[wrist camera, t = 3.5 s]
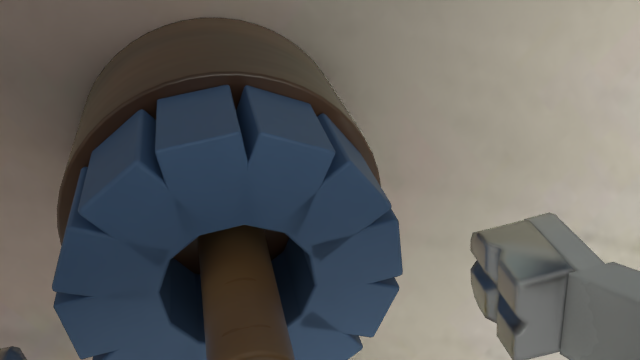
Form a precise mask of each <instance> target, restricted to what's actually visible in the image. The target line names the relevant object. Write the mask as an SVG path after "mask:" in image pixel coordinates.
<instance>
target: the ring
mask: <svg viewBox="0 0 640 360" xmlns="http://www.w3.org/2000/svg"><path fill="white" fill-rule="evenodd" d="M241 225H248V226H253V227H258V228H263V229H268V230H272V231H277V232H282V233H285V234H286V235H287V236H288V237H289V240H288V242H287V245H286V247H285V249H284V251H283V252H282V253H281V254H280V255H278V256H277V257H276V258H274V259H273V260H272V261H271V262H272V266H273V271H274V275H275V279H276V283H277V287H278V291H279V295H280V299H281V304H282V308H283V312H284V316H285V320H286V324H287V328H288V332H289V337H290V341H291V345H292V349H293V353H294V357H295V360H348V359H349V358H351V357H352V356H353V355H355V354H356V353H357V352H359V351H360V350H361V349H362V348H363V346H362V343H361V340H360V338H359V336H365V337H373V336H374V335H375V333H376V331H377V329H378V327H379V326H380V324H381V322H382V320H383V318H384V316H385V315H386V313H387V311H388V309H389V307H390V305H391V303H392V302H393V300H394V298H395V296H396V294H397V292H398V291H399V286H398V284H397V282H396V280H395V278H394V277H397V276H400V275H402V272H403V270H402V258H401V246H400V234H399V222H398V219H397V218H396V216H395V214H394V213H393V211H392V209H391V203H390V201H389V200H388V198H387V196H386V195H385V193H384V191H383V190H382V188H381V186H380V185H379V183H378V181H377V180H376V178H375V177H374V175H373V173H372V172H371V170H370V168H369V167H368V165H367V163H366V162H365V160H364V158H363V157H362V155H361V153H360V152H359V151H358V150H357V149H356V148H355V147H354V145H353V144H352V143H351V142H350V141H349V140H348V139H347V138H346V137H345V135H344V134H343V133H342V132H341V131H340V130H339V129H338V128H337V126H336V125H335V124H334V123H333V122H332V121H331V120H330V119H329V117H328V116H327V115H326V114H324V113H322V114H320V115H319V116H318V117H317V116H316V114H315V112H314V110H313V109H312V107H311V105H310V104H309V103H306V102H303V101H299V100H296V99H292V98H289V97H286V96H282V95H279V94H275V93H272V92H268V91H265V90H262V89H258V88H255V87H251V86H248V85H246V86H245V87H244V89H243V92H242V95H241V98H240V101H239V104H238V107H237V110H235V106H234V102H233V97H232V93H231V89H230V86H229V85H222V86H218V87H213V88H208V89H204V90H199V91H194V92H190V93H185V94H180V95H176V96H171V97H166V98H162V99H158V100H157V111H156V120H155V119H154V118H153V117H152V116H151V115H149V114H148V113H147V112H146V111H145V110H143V109H141V110H138V111H137V112H136V113H135V114H134V115H133V116H132V117H130V118H129V119H128V120H127V121H126V122H125V123H124V124H123V125H121V126H120V127H119V128H118V129H117V130H116V131H115V132H114V133H112V134H111V135H110V136H109V137H108V138H107V139H106V140H105V141H103V142H102V143H101V144H100V145H99V146H98V147H97V148H96V149H94V150H93V151H92V153H91V157H90V161H89V165H88V167H83V168H82V169H81V171H80V175H79V179H78V183H77V187H76V191H75V195H74V199H73V202H72V206H71V210H70V214H69V218H68V222H67V226H66V230H65V234H64V238H63V242H62V246H61V251H60V255H59V259H58V263H57V267H56V271H55V276H54V280H53V284H52V289H53V291H55V292H57V293H56V297H55V301H54V309H55V311H56V313H57V315H58V317H59V318H60V320H61V322H62V324H63V326H64V328H65V330H66V332H67V334H68V336H69V338H70V340H71V342H72V344H73V346H74V348H75V350H76V352H77V354H78V356H79V357H80V359H85V358H88V357H92V356H93V360H207V358H206V345H205V331H204V318H203V304H202V291H201V277H200V274H194V273H193V272H191V271H190V270H189V269H187V268H186V267H185V266H183V265H182V264H181V263H179V262H178V261H177V260H175V259H174V258H173V257H174V256H175V255H176V254H178V253H179V252H180V251H181V250H183V249H184V248H185V247H186V246H187V245H189V244H190V243H191V242H192V241H194V240H195V239H196V238H197V237H198V236H200V235H204V234H208V233H212V232H216V231H221V230H225V229H229V228H233V227H237V226H241Z"/></svg>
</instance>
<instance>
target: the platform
mask: <svg viewBox="0 0 640 360" xmlns="http://www.w3.org/2000/svg"><path fill="white" fill-rule="evenodd" d="M222 85H229V86H230V89H231V93H232V97H233V102H234V106H235V110H237V107H238V104H239V101H240V98H241V95H242V92H243V89H244V87H245V86H246V85H248V86H251V87H255V88H258V89H262V90H265V91H268V92H272V93H275V94H279V95H282V96H286V97H289V98H292V99H296V100H299V101H303V102H306V103H309V104H310V105H311V107H312V109H313V110H314V112H315V114H316V116H317V117H318V116H319V115H320V114H322V113H324V114H326V115H327V116H328V117H329V119H330V120H331V121H332V122H333V123H334V124H335V125H336V126H337V128H338V129H339V130H340V131H341V132H342V133H343V134H344V135H345V137H346V138H347V139H348V140H349V141H350V142H351V143H352V144H353V145H354V147H355V148H356V149H357V150H358V151H359V152H360V153H361V155H362V157H363V158H364V160H365V162H366V163H367V165H368V167H369V168H370V170H371V172H372V173H373V175H374V177H375V178H376V180H377V181H378V183H379V185H380V186H381V183H380V178H379V172H378V168H377V165H376V162H375V159H374V156H373V153H372V151H371V150H370V148H369V146H368V144H367V142H366V140H365V138H364V137H363V135H362V133H361V132H360V130H359V129H358V127H357V126H356V124H355V123H354V121H353V120H352V118H351V116H350V115H349V113H348V112H347V110H346V109H345V107H344V106H343V104H342V102H341V101H340V99H339V98H338V96H337V95H336V93H335V92H334V90H333V89H332V87H331V85H330V84H329V82H328V81H327V79H326V78H325V76H324V75H323V73H322V72H321V71H320V69H319V68H318V67H317V65H316V64H315V63H314V62H313V60H312V59H311V58H310V57H309V56H308V55H307V54H306V53H305V52H304V51H303V50H301V49H300V48H299V47H297V46H296V45H295V44H294V43H292V42H291V41H290V40H288V39H286V38H284V37H283V36H281V35H279V34H277V33H276V32H274V31H271V30H269V29H266V28H264V27H262V26H259V25H256V24H252V23H248V22H245V21H241V20H234V19H226V18H199V19H192V20H184V21H180V22H177V23H173V24H169V25H166V26H163V27H161V28H158V29H156V30H154V31H151V32H149V33H147V34H145V35H144V36H142V37H140V38H138V39H137V40H135V41H133V42H132V43H131V44H129V45H128V46H127V47H125V48H124V49H123V50H122V51H120V52H119V53H118V54H117V55H116V56H115V57H114V58H113V59H112V60H111V61H110V62H109V63H108V65H107V66H106V67H105V68H104V69H103V71H102V72H101V74H100V75H99V77H98V78H97V80H96V81H95V83H94V85H93V87H92V89H91V91H90V93H89V95H88V98H87V101H86V104H85V107H84V110H83V114H82V117H81V120H80V123H79V127H78V130H77V133H76V137H75V140H74V143H73V147H72V150H71V153H70V156H69V160H68V163H67V166H66V170H65V173H64V176H63V180H62V183H61V186H60V190H59V197H58V204H57V228H58V233H59V238H60V243H61V246H62V242H63V238H64V234H65V230H66V226H67V222H68V218H69V214H70V210H71V206H72V202H73V199H74V195H75V191H76V187H77V183H78V179H79V175H80V171H81V169H82V168H83V167H88V165H89V161H90V157H91V153H92V151H93V150H94V149H96V148H97V147H98V146H99V145H100V144H101V143H102V142H103V141H105V140H106V139H107V138H108V137H109V136H110V135H111V134H112V133H114V132H115V131H116V130H117V129H118V128H119V127H120V126H121V125H123V124H124V123H125V122H126V121H127V120H128V119H129V118H130V117H132V116H133V115H134V114H135V113H136V112H137V111H138V110H141V109H143V110H145V111H146V112H147V113H148V114H149V115H151V116H152V117H153V118H154V119H155V120H156V111H157V100H158V99H162V98H166V97H171V96H176V95H180V94H185V93H190V92H194V91H199V90H204V89H208V88H213V87H218V86H222ZM288 240H289V237H288V236H287V235H286V234H285V233H282V232H277V231H272V230H268V229H263V228H258V227H253V226H248V225H241V226H237V227H233V228H229V229H225V230H221V231H216V232H212V233H208V234H204V235H200V236H198V237H197V238H196V239H195V240H194V241H192V242H191V243H190V244H189V245H187V246H186V247H185V248H184V249H183V250H181V251H180V252H179V253H178V254H176V255H175V256H174V257H173V258H174V259H175V260H177V261H178V262H179V263H181V264H182V265H183V266H185V267H186V268H187V269H189V270H190V271H191V272H193V273H194V274H200V277H201V291H202V304H203V318H204V331H205V345H206V358H207V360H295V357H294V353H293V349H292V345H291V341H290V337H289V332H288V328H287V324H286V320H285V316H284V312H283V308H282V304H281V299H280V295H279V291H278V287H277V283H276V279H275V275H274V271H273V266H272V262H271V261H272V260H273V259H274V258H276V257H277V256H278V255H280V254H281V253H282V252H283V251H284V249H285V247H286V245H287V242H288Z"/></svg>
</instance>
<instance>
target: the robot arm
mask: <svg viewBox="0 0 640 360" xmlns="http://www.w3.org/2000/svg"><path fill="white" fill-rule="evenodd" d="M471 252H472V253H473V255H474V256H475V258H476V259H477V261H476V262H475V264H474V265H473V267H472V268H471V285H472V289H473V293H474V297H475V299H476V302H477V304H478V306H479V308H480V310H481V311H482V313H483V315H484V316H485V318H487V319H489V320H491V321H493V322H495V323H497V337H498V338H499V340H500V341H501V343H502V344H503V346H504V347H505V349H506V350H507V352H508V353H509V355H510V357H511V358H512V360H527V359H531V358H535V357H539V356H544V355H548V354H552V353H556V352H560V354H561V355H563V356H564V357H566V358H568V359H569V360H640V271H638V270H635V269H632V268H629V267H626V266H623V265H620V264H618V263H615V262H611V263H607V264H605V263H604V262H603V261H602V260H601V259H600V258H599V257H598V256H597V255H596V254H595V253H594V252H593V251H592V250H591V249H590V248H589V247H588V246H587V245H586V244H585V243H584V242H583V241H582V240H581V239H580V238H579V237H578V236H577V235H576V234H574V233H573V232H572V231H571V230H570V229H569V228H568V227H567V226H566V225H565V224H564V223H563V222H562V221H561V220H560V219H559V218H558V217H557V216H556V215H555V214H552V213H550V212H549V213H545V214H542V215H538V216H534V217H530V218H527V219H524V220H522V221H518V222H514V223H510V224H506V225H502V226H498V227H494V228H490V229H486V230H482V231H478V232H474V233H473V234H472V237H471ZM0 360H27V359H26V357H25V356H24V354H23V353H22V351H21V350H20V348H18V347H13V346H11V347H7V348H2V349H0Z"/></svg>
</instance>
